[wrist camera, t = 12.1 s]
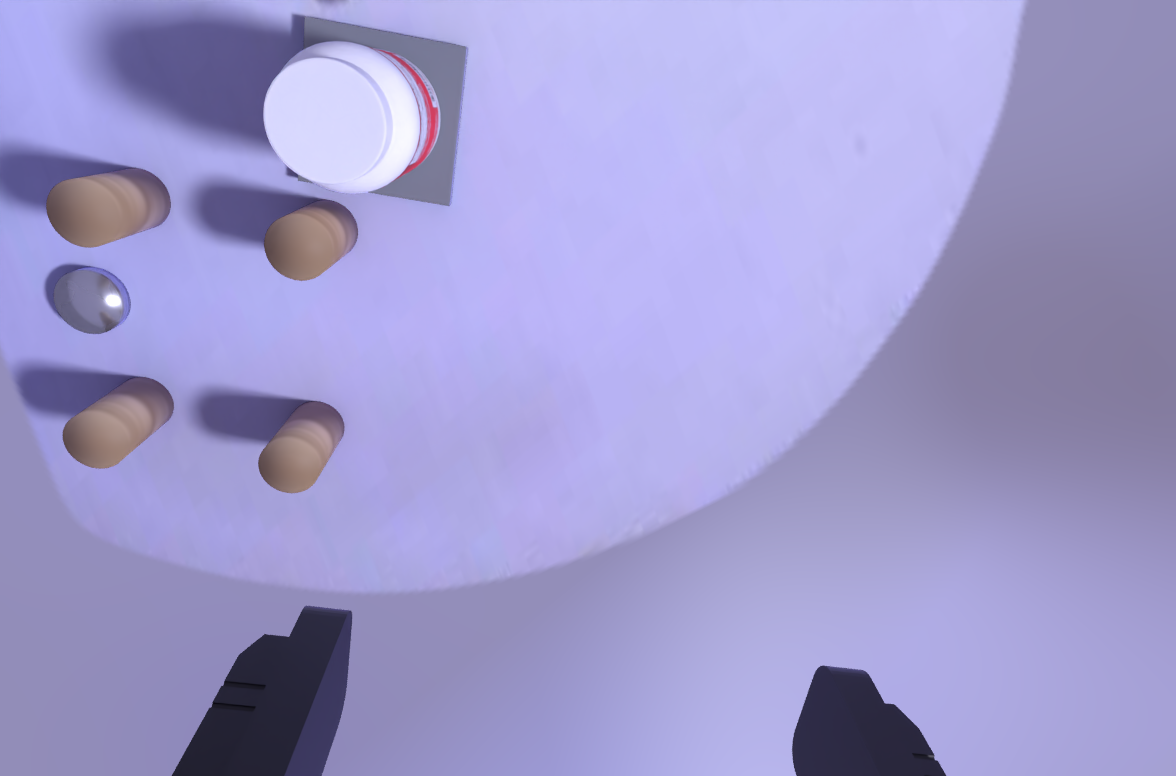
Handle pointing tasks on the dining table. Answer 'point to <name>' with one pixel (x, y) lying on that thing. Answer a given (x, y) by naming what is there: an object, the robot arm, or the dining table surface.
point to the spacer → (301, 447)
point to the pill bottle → (351, 116)
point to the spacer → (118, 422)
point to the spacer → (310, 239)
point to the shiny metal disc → (91, 300)
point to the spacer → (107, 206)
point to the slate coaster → (447, 80)
